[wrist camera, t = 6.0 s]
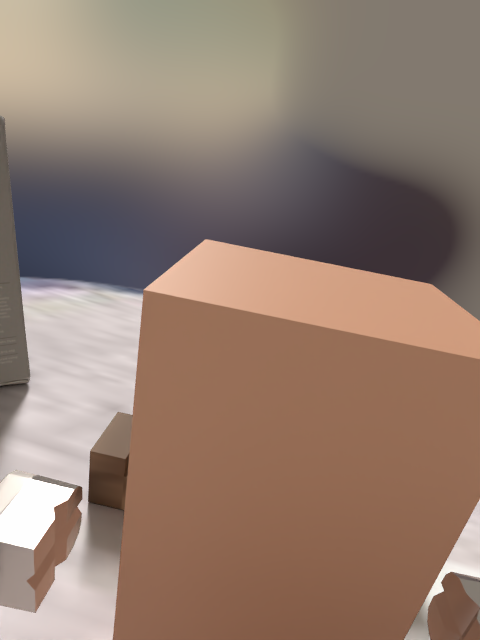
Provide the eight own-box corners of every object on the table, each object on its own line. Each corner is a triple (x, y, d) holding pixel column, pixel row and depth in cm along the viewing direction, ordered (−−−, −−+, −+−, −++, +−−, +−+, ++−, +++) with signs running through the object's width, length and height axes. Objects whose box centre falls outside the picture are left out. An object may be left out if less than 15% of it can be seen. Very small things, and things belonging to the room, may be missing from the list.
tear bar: (88, 501, 18) (90, 443, 17) (114, 458, 21) (118, 405, 20) (386, 570, 17) (411, 516, 16) (372, 516, 20) (393, 465, 19)
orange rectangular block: (98, 800, 10) (144, 289, 5) (149, 631, 14) (205, 239, 9) (289, 851, 10) (547, 373, 5) (288, 664, 14) (431, 284, 8)
